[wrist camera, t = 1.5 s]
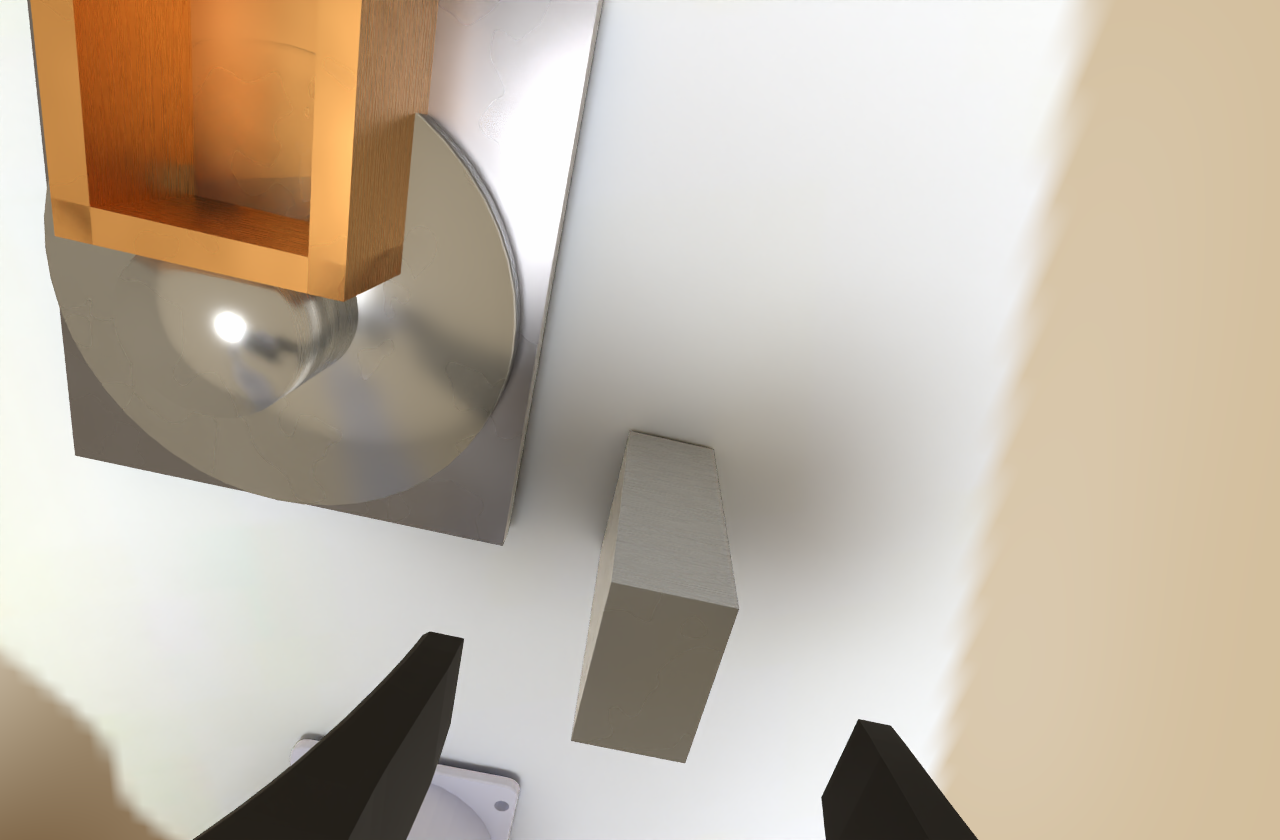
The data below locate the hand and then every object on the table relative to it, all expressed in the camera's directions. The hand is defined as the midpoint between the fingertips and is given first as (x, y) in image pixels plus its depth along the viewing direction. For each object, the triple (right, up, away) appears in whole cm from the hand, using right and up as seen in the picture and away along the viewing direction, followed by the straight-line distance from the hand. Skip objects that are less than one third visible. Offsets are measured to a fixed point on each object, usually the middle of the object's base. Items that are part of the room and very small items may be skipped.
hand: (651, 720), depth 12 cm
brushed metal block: (0, +3, +8) cm, 8 cm away
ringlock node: (-8, +13, +4) cm, 15 cm away
